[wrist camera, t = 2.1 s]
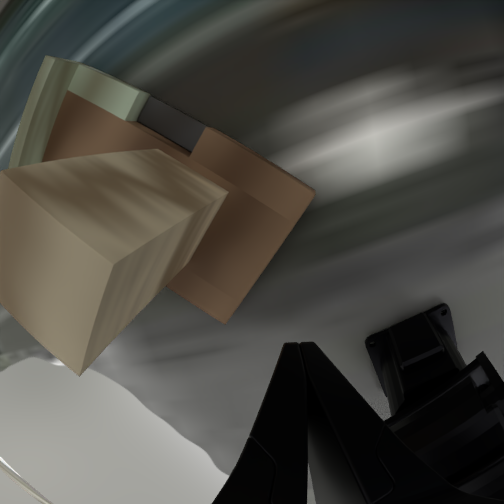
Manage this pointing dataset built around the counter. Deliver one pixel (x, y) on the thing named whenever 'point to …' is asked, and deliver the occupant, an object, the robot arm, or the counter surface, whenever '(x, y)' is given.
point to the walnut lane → (200, 160)
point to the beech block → (96, 243)
